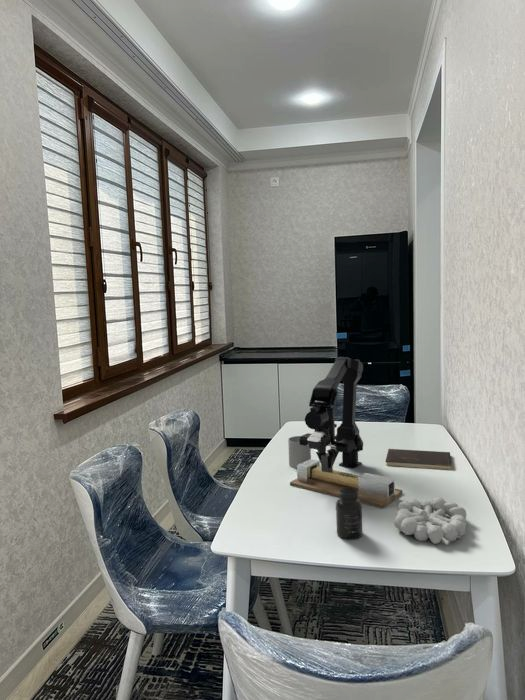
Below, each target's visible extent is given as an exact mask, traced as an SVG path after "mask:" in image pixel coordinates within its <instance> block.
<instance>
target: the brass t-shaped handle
mask: <svg viewBox="0 0 525 700" xmlns="http://www.w3.org/2000/svg"><path fill="white" fill-rule="evenodd" d="M320 465H321V466H320V467H317V466H312V467H310V477H312V478H316V479H321V480H325V481H329V482H334V483H338V484H342V485H346V486H351V487H355V488H358V477H360V476H361V475H358V474H353V473H349V472H344V471H339V470H335V469H333V468H334V466H333V467H332V468H331V469H330V468H329V453H328V452H326V453H325V454H323V455H321V463H320Z"/></svg>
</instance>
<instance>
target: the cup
mask: <svg viewBox="0 0 525 700" xmlns="http://www.w3.org/2000/svg"><path fill="white" fill-rule="evenodd" d="M301 436H302V435H296V436H295V435H294V436H291V437H289V438H288V440H287V442H288V465H289V467H290V468H293V469H297V465H299V464H301V463H303V462H305V461H307V460H309V459H312V455H311V453H312V451H311V450H312V449H310V448H309V445H306V446H304V445H299V438H300V437H301Z"/></svg>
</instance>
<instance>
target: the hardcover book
mask: <svg viewBox="0 0 525 700" xmlns="http://www.w3.org/2000/svg"><path fill="white" fill-rule="evenodd" d="M386 453H387V454H386V458H385V461H384V462H385V463H386V466H388V467H389V466H391V467H407V468H408V467H409V468H423V469H435V470H436V469H437V470H439V469H440V470H450V469H451V470H452V467H453V465H452V457H451V451H435V450H434V451H432V450H417V449H398V448H388V450H387V452H386Z"/></svg>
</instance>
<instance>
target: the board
mask: <svg viewBox="0 0 525 700" xmlns="http://www.w3.org/2000/svg"><path fill="white" fill-rule="evenodd" d="M289 485H290V486H294V487H297V488H301V489H304V490H307V491H308V490H309V491H312V492H316V493H322V494H325V495H327V496H328V495H329V496H332V497H337V498H339V491H340V490H341V489H343V488H353V489H356V490H357V491H358V488H355V487H351V486H346V485H342V484H338V483H334V482H329V481H325V480H321V479H316V478H314V479H312V480H311V481H309V482H303V481H299V480H297V478H296V479H292V480H291V481H290V482H289ZM402 494H403V489H399V488H395V495H393V496H392V497H391V498H389V499H388V500H387V499H383V498H379V497H375V496H370V495H366V494H362V493H358V500H359V501H360V502H361V504H364V505H369V506H372V507H375V508H380V509H384V508H386V507H387V505H389V504H390V503H391V502H393V501H395V499H397V498H398V497H399V496H401V495H402Z"/></svg>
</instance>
